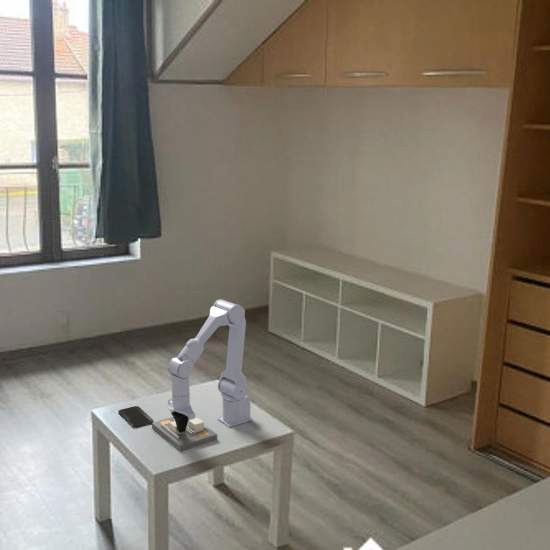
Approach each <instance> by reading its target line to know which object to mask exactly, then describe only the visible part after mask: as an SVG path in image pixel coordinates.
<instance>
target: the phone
mask: <svg viewBox="0 0 550 550" xmlns="http://www.w3.org/2000/svg"><path fill="white" fill-rule="evenodd" d="M118 415H120V416H121V418H122V419H124V421H125V422H127V424H129V426H130V427H131V428H133V429H137V428H140V427H144V426H149V425H152V423H154V419H153V418H152V417H151V416H150V415H148V414H147V413H146V412H145V411H144V410H143V409H142V408H141V407H140V406H137V405H135V406H130V407H126V408H122V409H119V410H118Z"/></svg>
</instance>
